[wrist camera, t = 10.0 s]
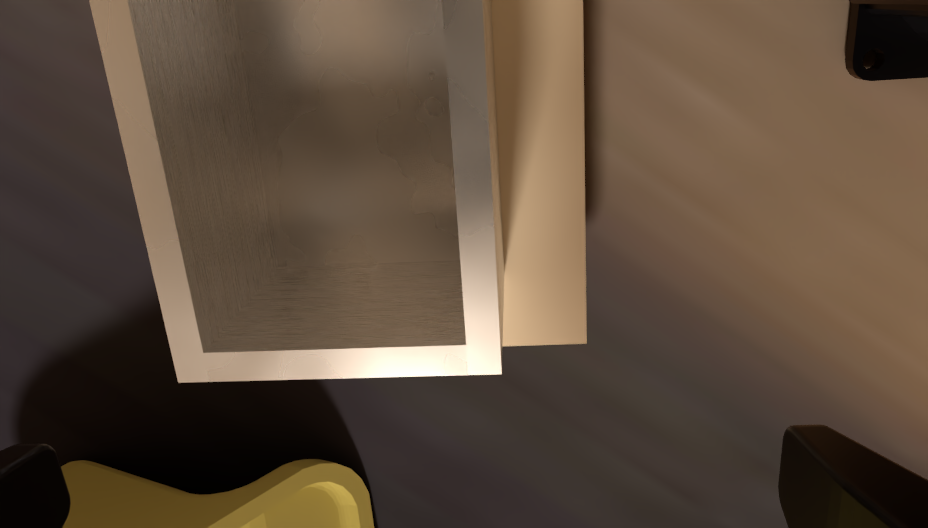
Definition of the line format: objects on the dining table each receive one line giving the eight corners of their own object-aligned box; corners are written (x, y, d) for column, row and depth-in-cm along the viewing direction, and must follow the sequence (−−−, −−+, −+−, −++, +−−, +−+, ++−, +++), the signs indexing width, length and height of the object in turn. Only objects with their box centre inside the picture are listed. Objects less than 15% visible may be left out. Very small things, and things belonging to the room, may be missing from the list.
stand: (567, -281, 16) (579, -341, 13) (576, 296, 21) (586, 343, 18) (138, -235, 17) (62, -282, 14) (243, 309, 21) (203, 356, 19)
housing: (504, 272, 17) (501, 374, 13) (265, 282, 18) (178, 382, 13) (481, -204, 14) (466, -306, 9) (185, -176, 14) (29, -261, 10)
